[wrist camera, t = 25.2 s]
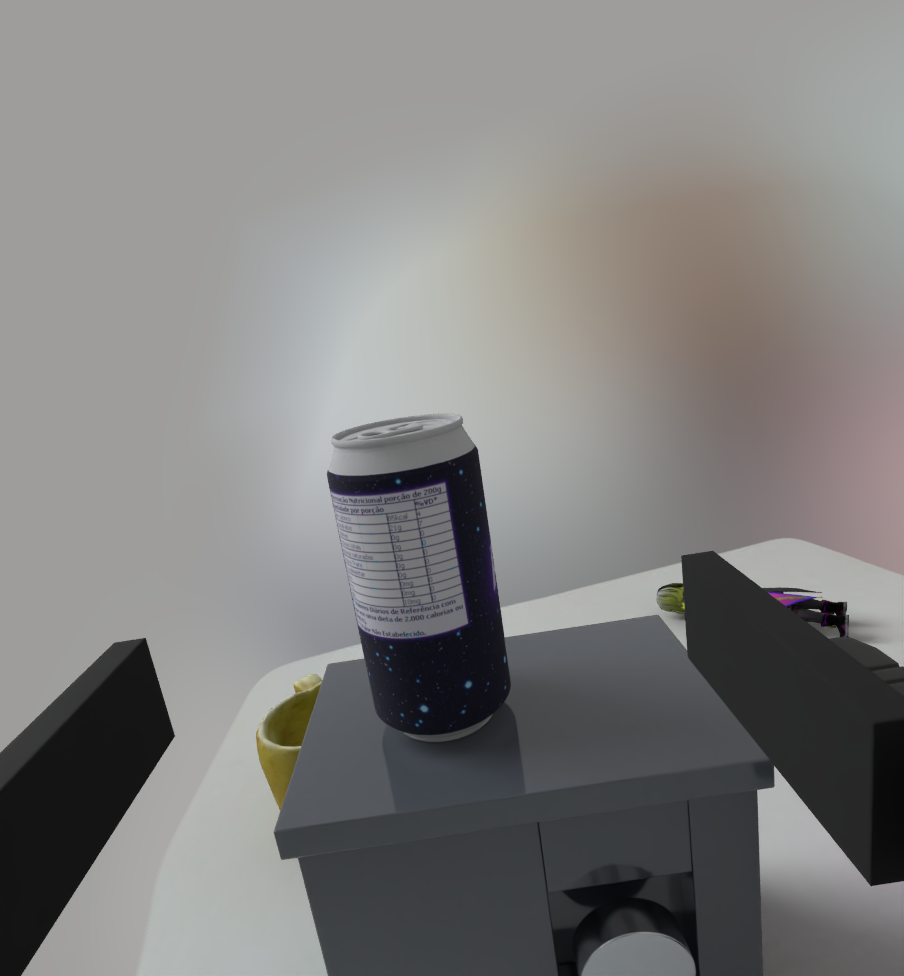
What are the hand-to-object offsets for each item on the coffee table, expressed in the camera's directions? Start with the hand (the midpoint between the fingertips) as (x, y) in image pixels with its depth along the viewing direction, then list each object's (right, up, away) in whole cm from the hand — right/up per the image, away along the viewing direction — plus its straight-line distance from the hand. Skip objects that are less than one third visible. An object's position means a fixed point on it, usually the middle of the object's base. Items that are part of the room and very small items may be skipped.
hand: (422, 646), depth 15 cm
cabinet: (+5, -20, +14) cm, 25 cm away
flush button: (+7, -15, +7) cm, 18 cm away
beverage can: (+1, -6, +11) cm, 12 cm away
